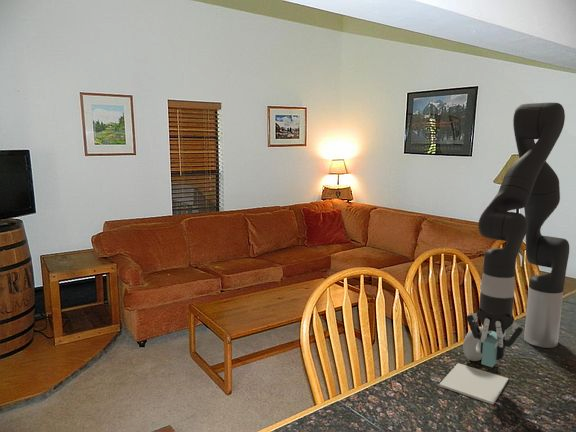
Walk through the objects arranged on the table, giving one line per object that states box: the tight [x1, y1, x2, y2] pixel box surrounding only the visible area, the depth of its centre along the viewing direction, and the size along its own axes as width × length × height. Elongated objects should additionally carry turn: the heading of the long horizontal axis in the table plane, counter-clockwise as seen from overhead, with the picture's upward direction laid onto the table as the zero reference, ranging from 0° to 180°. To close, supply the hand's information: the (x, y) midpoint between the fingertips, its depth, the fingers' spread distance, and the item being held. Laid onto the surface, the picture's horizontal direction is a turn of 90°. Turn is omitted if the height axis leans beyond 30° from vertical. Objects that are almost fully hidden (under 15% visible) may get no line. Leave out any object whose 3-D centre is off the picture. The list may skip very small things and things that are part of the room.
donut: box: [462, 326, 483, 362], centre depth 128 cm, size 10×4×10 cm, turn 122°
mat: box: [438, 362, 509, 405], centre depth 116 cm, size 14×13×1 cm
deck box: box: [481, 331, 499, 368], centre depth 113 cm, size 8×3×6 cm, turn 141°
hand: (491, 357), depth 114 cm, fingers closed on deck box, 2 cm apart
